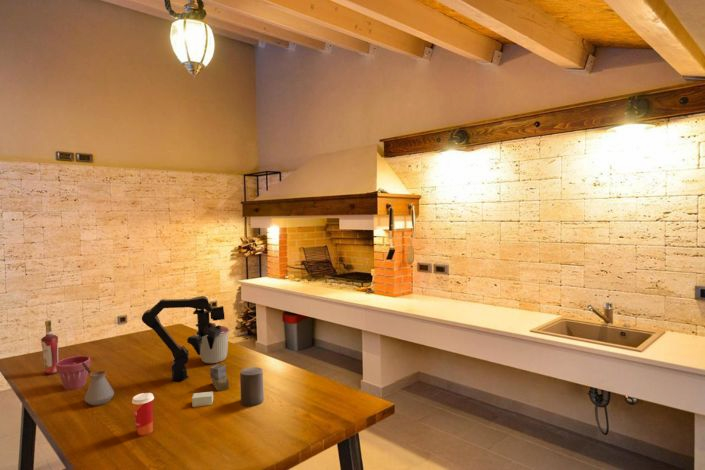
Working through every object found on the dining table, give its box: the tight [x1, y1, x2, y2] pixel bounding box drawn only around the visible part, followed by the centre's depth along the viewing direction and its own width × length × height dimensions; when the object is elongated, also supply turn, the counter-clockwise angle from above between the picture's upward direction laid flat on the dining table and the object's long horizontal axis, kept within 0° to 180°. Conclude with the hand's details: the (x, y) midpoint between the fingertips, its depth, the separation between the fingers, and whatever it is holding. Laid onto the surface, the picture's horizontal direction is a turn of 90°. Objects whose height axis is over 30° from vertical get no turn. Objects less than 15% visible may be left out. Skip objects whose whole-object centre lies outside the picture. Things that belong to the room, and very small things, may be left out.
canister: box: [195, 322, 231, 364], centre depth 244 cm, size 18×18×21 cm
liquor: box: [40, 319, 59, 375], centre depth 233 cm, size 7×7×28 cm
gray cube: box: [209, 363, 227, 380], centre depth 208 cm, size 5×5×5 cm
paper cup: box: [131, 392, 155, 437], centre depth 168 cm, size 8×8×14 cm
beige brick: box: [191, 391, 214, 408], centre depth 191 cm, size 8×5×4 cm, turn 101°
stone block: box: [211, 375, 230, 392], centre depth 209 cm, size 6×12×5 cm, turn 29°
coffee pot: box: [80, 363, 115, 406], centre depth 199 cm, size 21×12×15 cm, turn 53°
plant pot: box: [56, 355, 92, 391], centre depth 214 cm, size 14×14×13 cm
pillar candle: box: [239, 366, 265, 407], centre depth 191 cm, size 10×10×15 cm
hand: (205, 351), depth 223 cm, fingers open, 9 cm apart
